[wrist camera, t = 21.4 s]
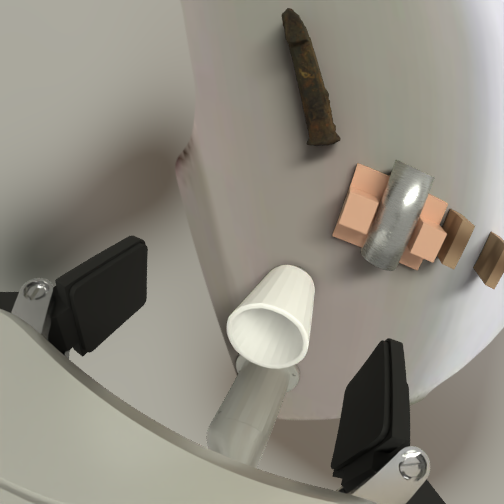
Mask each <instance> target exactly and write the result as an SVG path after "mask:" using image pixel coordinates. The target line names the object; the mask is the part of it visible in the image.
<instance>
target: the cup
mask: <svg viewBox="0 0 504 504" xmlns="http://www.w3.org/2000/svg"><path fill="white" fill-rule="evenodd" d="M314 294H315V286H314V283H313V281H312V278H311V277H310V276H309V275H308V274H307V273H306V271H305V270H304V269H303V268H301V267H298V266H291V265H282V266H277V267H275V268H274V269H272V270H271V271H270V272H269V273H268V274H267V275H266V276H265V278H264V279H263V280H262V281H261V282H260V283H259V284H258V285H257V286H256V287H255V289H254V290H253V291H252V292H251V293H250V294H249V295H248V296H247V297H246V298H245V300H244V301H243V302H242V303H241V304H240V305H239V306H238V307H237V308H236V309H235V310H234V311H233V313H232V314H231V315H230V316H229V318H228V321H227V335H228V338H229V340H230V343H231V344H232V346H233V347H234V349H235V350H236V351H237V352H238V353H239V354H240V355H241V356H243V357H244V358H246V359H247V360H249V361H250V362H252V363H255V364H257V365H259V366H263V367H266V368H276V369H280V368H286V367H290V366H292V365H295V364H297V363H298V362H300V361H301V360H302V359H304V357H305V355H306V353H307V350H308V345H309V337H310V329H311V321H312V312H313V303H314Z"/></svg>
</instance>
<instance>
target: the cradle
mask: <svg viewBox="0 0 504 504" xmlns="http://www.w3.org/2000/svg"><path fill="white" fill-rule="evenodd" d="M389 178H390V176H389V175H387V174H384V173H382V172H379V171H377V170H374V169H372V168H369V167H367V166H364V165H362V164H359V163H357V166H356V169H355V172H354V175H353V178H352V181H351V184H350V187H349V190H348V193H347V196H346V199H345V202H344V204H343V207H342V210H341V213H340V216H339V218H338V221H337V224H336V226H335V229H334V232H333V235H332V236H334V237H336V238H339V239H342V240H344V241H347V242H349V243H352V244H354V245H357V246H359V247H362V248H363V245H364V243H365V241H366V238H367V236H368V233H369V231H370V228H371V226H372V223H373V221H374V218H375V216H376V213H377V211H378V208H379V206H380V203H381V200H382V198H383V195H384V192H385V189H386V187H387V184H388V181H389ZM447 205H448V203H446V202H445V201H443V200H441V199H439V198H437V197H435V196H433V195H431V194H428V197H427V200H426V202H425V205H424V207H423V210H422V212H421V215H420V217H419V219H418V222H417V224H416V226H415V229H414V231H413V233H412V236H411V238H410V240H409V242H408V244H407V246H406V249H405V251H404V253H403V255H402V257H401V259H400V261H399V263H401V264H404V265H406V266H408V267H411V268H413V269H415V270H418V268H419V266H420V264H421V263H422V261H423V259H426V260H428V261H430V262H434V260H435V258H436V256H437V254H438V252H439V250H440V248H441V246H442V244H443V242H444V240H445V237H446V235H447V233H446V232H445V231H444V230H443V228H442V227H441V226H440V225H439V224H440V222H441V220H442V217H443V215H444V213H445V210H446V208H447Z"/></svg>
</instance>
